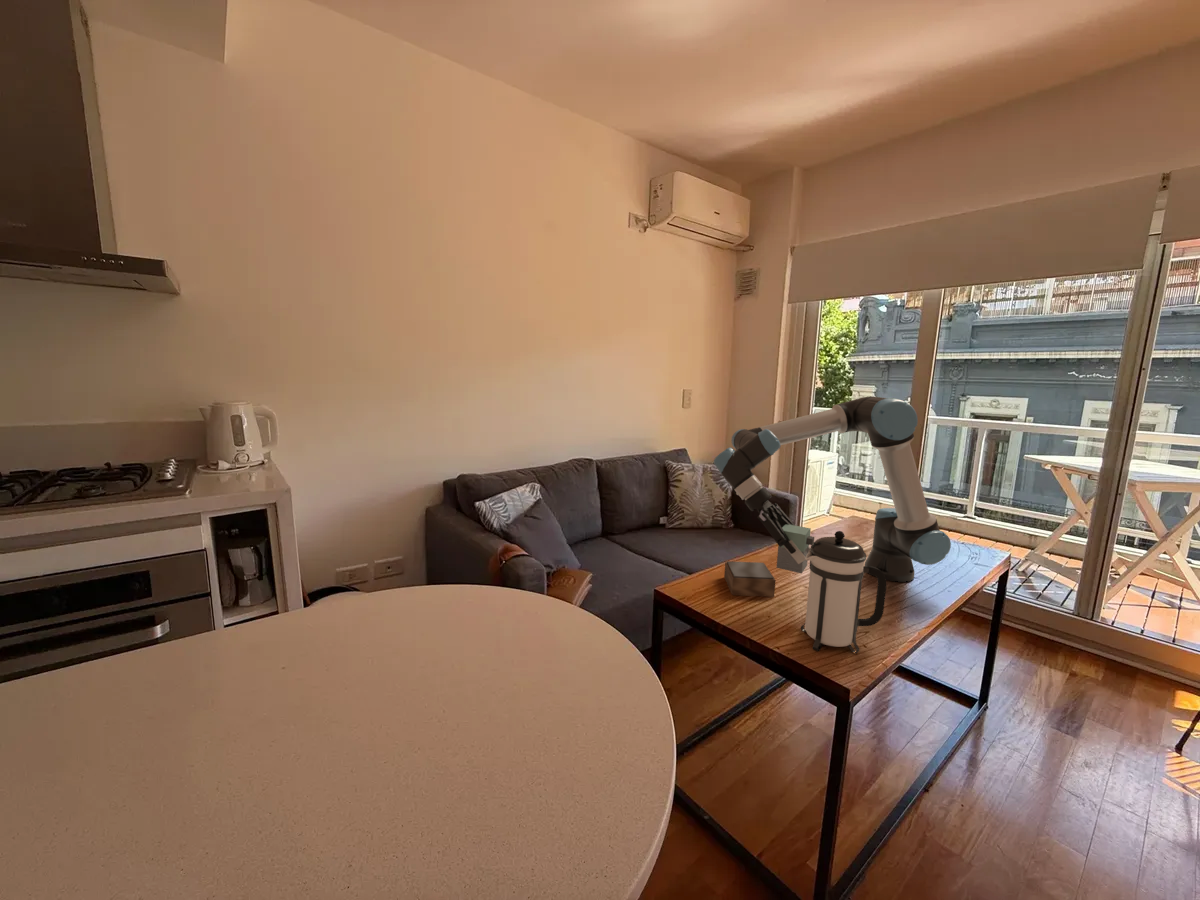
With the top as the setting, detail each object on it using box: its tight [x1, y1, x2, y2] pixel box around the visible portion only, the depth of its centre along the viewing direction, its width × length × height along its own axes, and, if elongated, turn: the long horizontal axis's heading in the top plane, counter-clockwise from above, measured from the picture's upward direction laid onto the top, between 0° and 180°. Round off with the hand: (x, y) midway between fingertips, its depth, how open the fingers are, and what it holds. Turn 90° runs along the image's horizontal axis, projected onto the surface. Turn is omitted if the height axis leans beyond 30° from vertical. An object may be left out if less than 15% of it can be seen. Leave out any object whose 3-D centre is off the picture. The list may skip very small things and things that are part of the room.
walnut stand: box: [723, 560, 777, 598], centre depth 162 cm, size 13×13×6 cm
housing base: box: [776, 545, 810, 574], centre depth 147 cm, size 7×7×6 cm
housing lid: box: [777, 524, 815, 552], centre depth 145 cm, size 7×9×5 cm
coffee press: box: [800, 530, 887, 654], centre depth 129 cm, size 17×16×30 cm
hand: (805, 557), depth 145 cm, fingers closed on housing base, housing lid, 7 cm apart
